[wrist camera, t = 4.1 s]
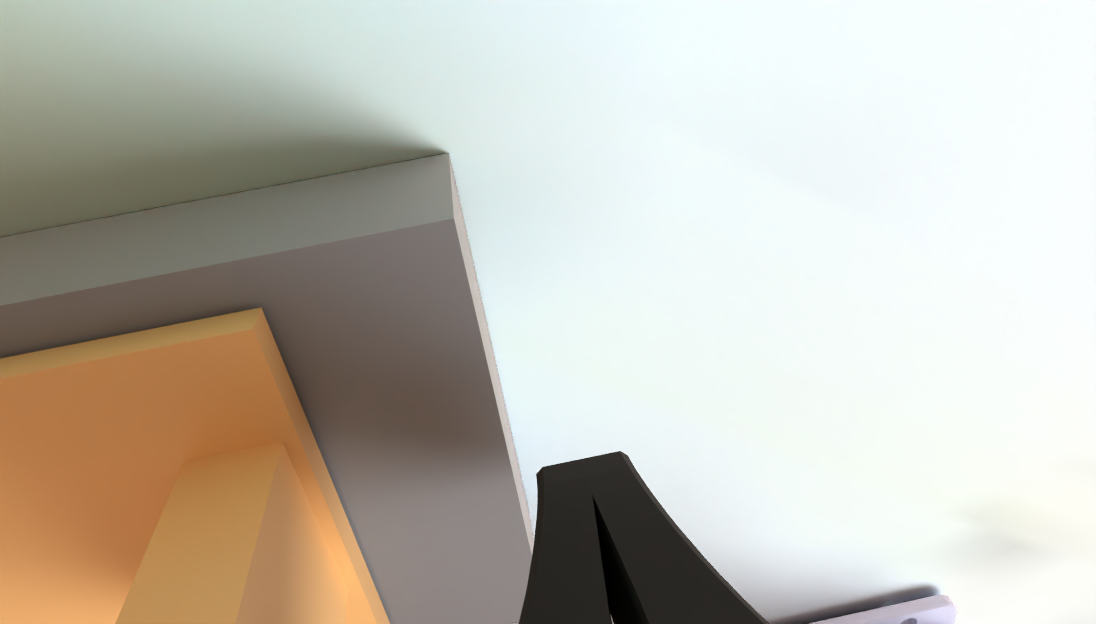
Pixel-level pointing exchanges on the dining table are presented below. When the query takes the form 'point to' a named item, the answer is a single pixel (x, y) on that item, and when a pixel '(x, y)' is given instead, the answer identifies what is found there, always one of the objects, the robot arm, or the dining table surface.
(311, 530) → the shutter
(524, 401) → the dining table surface
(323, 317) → the grey recessed box
